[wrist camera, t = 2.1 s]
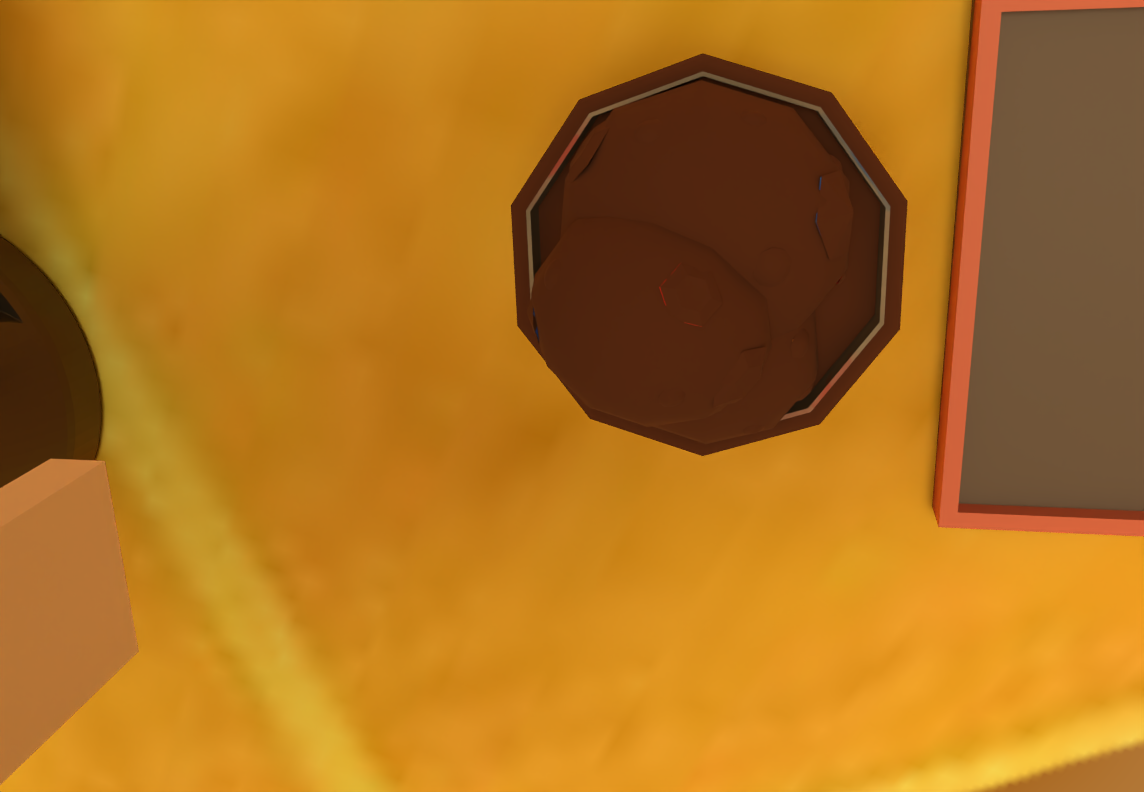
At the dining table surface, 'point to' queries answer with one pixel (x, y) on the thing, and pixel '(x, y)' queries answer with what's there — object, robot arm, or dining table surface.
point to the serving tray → (1047, 275)
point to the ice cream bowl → (709, 255)
